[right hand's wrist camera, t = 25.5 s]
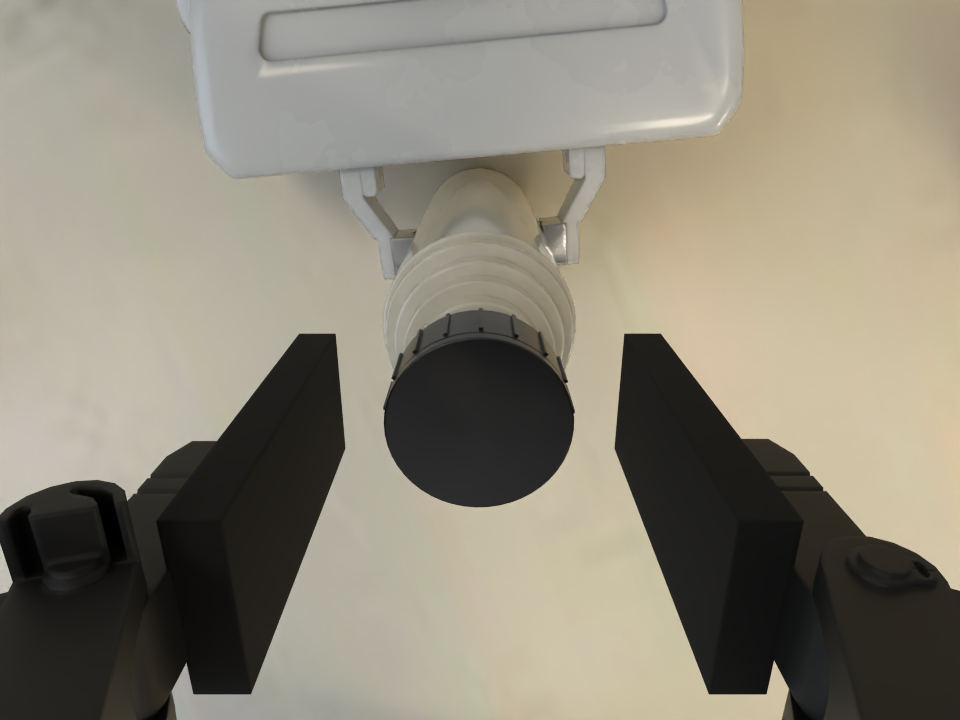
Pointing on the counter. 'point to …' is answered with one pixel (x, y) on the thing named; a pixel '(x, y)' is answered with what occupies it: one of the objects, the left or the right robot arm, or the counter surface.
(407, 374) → the cap
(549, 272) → the bottle
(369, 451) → the counter surface
